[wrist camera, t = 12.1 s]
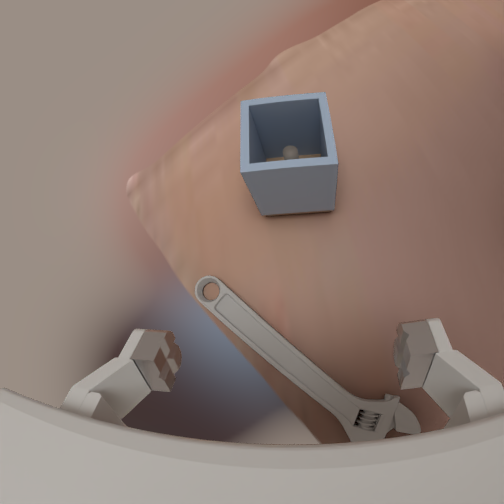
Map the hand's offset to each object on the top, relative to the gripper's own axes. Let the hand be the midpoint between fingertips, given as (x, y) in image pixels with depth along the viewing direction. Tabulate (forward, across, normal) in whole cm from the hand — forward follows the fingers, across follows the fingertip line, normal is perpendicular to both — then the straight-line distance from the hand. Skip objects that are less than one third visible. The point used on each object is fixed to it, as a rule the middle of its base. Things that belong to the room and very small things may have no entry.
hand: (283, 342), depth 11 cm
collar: (+20, 0, +1) cm, 20 cm away
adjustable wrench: (+10, -1, +14) cm, 17 cm away
